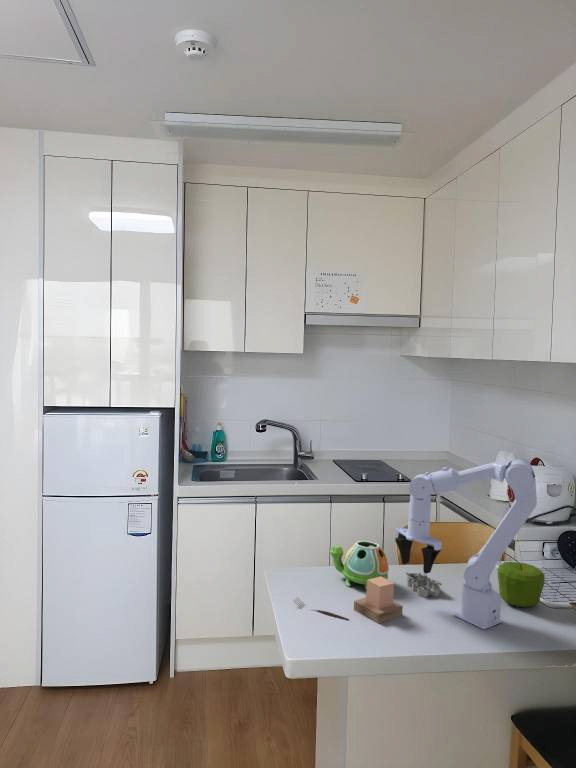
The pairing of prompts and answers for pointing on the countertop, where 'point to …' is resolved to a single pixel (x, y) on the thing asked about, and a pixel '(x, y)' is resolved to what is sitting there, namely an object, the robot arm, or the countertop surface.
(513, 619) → the countertop surface
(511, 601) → the apple
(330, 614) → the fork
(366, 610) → the walnut block
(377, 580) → the terracotta block
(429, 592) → the egg carton
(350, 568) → the turtle holder
